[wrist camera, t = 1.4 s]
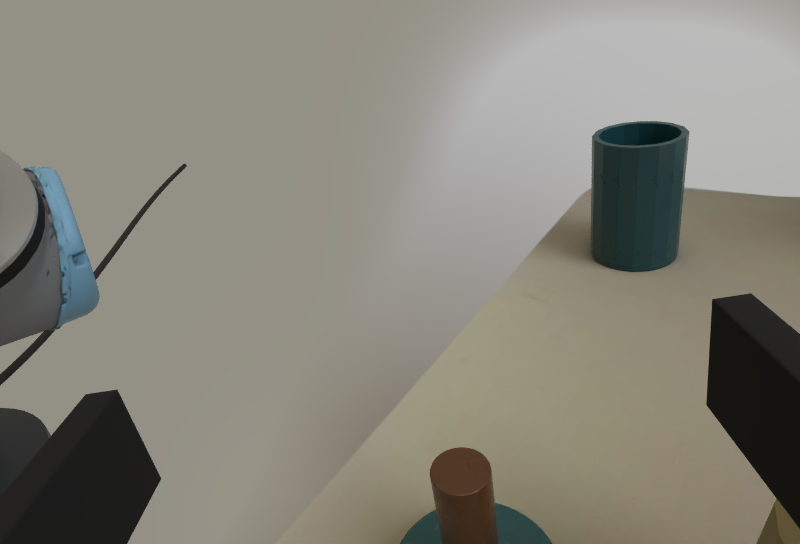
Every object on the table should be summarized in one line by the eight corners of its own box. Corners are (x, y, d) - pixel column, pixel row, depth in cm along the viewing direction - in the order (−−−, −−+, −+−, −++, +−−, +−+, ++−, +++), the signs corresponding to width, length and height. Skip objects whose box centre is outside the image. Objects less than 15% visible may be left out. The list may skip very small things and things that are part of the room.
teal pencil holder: (577, 245, 61) (576, 132, 55) (644, 228, 62) (651, 116, 56) (619, 278, 54) (624, 153, 48) (695, 259, 55) (709, 134, 49)
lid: (378, 539, 33) (350, 430, 29) (521, 496, 34) (513, 384, 30) (416, 710, 25) (384, 592, 21) (599, 646, 26) (603, 522, 22)
